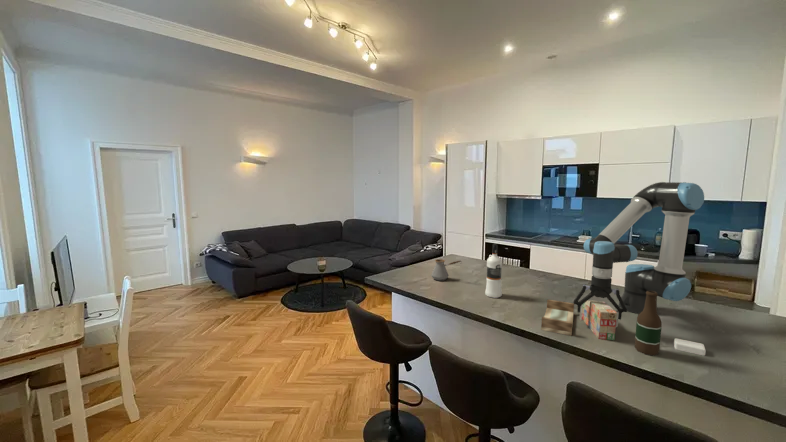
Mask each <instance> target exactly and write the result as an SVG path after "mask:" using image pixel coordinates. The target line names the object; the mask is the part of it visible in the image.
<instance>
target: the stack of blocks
mask: <svg viewBox="0 0 786 442" xmlns="http://www.w3.org/2000/svg"><path fill="white" fill-rule="evenodd" d="M582 305H583V308H582V320H583V322H584V323H585V324H586V325H587V327H588V328H589V329H590V330H591V331H592V333H593V334H594V335H595V337H596V338H597V339H598V340H607V341H608V340H609V341H610V340H611V341H615V338H616V328H617V327H616V319H617V313H616V310H614V308H613V307H611V306H610V305H609V304H608V303H606V302H605V301H597V300H587V301H586V302H585V303H584V304H582Z"/></svg>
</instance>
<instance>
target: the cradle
mask: <svg viewBox="0 0 786 442" xmlns="http://www.w3.org/2000/svg"><path fill="white" fill-rule="evenodd" d="M574 309H575V304H574V303H573V302H566V301H561V300H555V299H547V300H546V309H545V314H544V315H543V316H542V317H541V326H540V330H541V331H545V332H551V333H556V334H560V335H566V336H571V337H572V333H573V324H574V322H573V321H574V313H575V312H574V311H575V310H574Z"/></svg>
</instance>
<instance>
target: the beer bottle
mask: <svg viewBox="0 0 786 442" xmlns="http://www.w3.org/2000/svg"><path fill="white" fill-rule="evenodd" d="M658 297H659V296H658V293H657V292H654V291H646V300H645V306H644V309H643V311H642V312H641V313H640V314H639V313H638V315H637V318H636V325H635V337H634V348H635V350H636V351H637V352H639V353H641V354H644V355H648V356H653V355H654V356H656V355H658V354H659V353H660V346H661V336H662V327H663V325H662V323H663V322H662V319H661V317H660V315H659V314H658V310H657V309H658V307H657V306H658V305H657V304H658V303H657V302H658Z"/></svg>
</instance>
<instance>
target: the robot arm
mask: <svg viewBox="0 0 786 442" xmlns="http://www.w3.org/2000/svg"><path fill="white" fill-rule="evenodd" d="M704 202H705V193H704V190H703V188H702V187H701V186H700V185H698V184H697V183H694V182H685V181H684V182H678V181H677V182H673V181H672V182H671V181H670V182H664V181H661V182H655V183H652V184H649V185H648V186H646V187H644V188H643V189H641V190H640V191H639V192H637V193H636V194H635V195H634V196H633V197H632V198H631V199H630V203H629V204H628V205H627V206H626V207H625V208H624V209H623V210H622V211H621V212H619V214H618V215H617V216H616V217H615V218H613V220H612V221H611V222H610V223H609V224H608V225H606V227H605V228H604V229H602V231H601V232H599V234H598V235H597V236H596V237H595V238H591V237H590V238H588V239H587V238H586V240H585V241H584V243H583V250H584V251H585V253H587V254H590V255H592V266H591V278H590V279H591V280H590V281H591V282H590V285H586V284H585V283H584V284H583V285H582V288H581V290H580V291H579V293H578V294H577V295H576V297H575V298H574V299H573V302H572V303H574V305H576V306H577V313H578V314H579V321H580V322H581V321H582V320H583V319H582V308H583V305H582V304H584V303H585V302H586V301H590V299H592V298H593V297H596V298H602V299H607V300H608V301H609V302H610V303H611V304H612V306H613V307H614V308H615V312H616V313H617V319H616V328H618V325H619V324H618V323H619V320H620V321H621V320H622V317H623V316H622V315H623V314H622V313H627V312H630V313H635V314H638V315H639V314H640V313H641V312H642V311H643V309H644V306H645V300H646V291H654V292H657V293H658V296H657V297H659V298H663V299H664V300H669V301H672V302H680V301H682V300H684V299H685V298H687V296H688V295H689V293H690V291H691V288H692V283H691V280H690V279H688V278H687V277H686V273H687V272H686V271H685V270H684V269H683V265H684V259H685V250H686V245H687V244H686V243H687V238H688V232H689V231H688V230H689V223H690V217H692V216H693V215H695V213H696V211H697V210H699V209H700V208H701V207H702V205H704ZM658 207H661V212H662V213H663V214H664V215H665V216H664V221H663V228H662V237H661V243H660V244H661V245H660V251H659V258H658V265H656V266H654V265H652V264H644V263H635V264H634V263H633V264H628V265H627V266H626V268H625V271H624V272H625V274H624V289H623V293H622V295H621V294H620V289H619V288H616V289H614V288H612V282H613V281H612V280H613V279H612V277H613V269H614V268H613V267H614V263H616V264H617V263H630V262H633V261H635V260H636V259H637V257H638V253H639V252H638V250H637V248H636V247H635V246H634V245H632V244H621V243H617V242H618V241H619V239H621V237H623V235H625V234H626V232H627V231H628V230H630V229H631V227H632V226H633V225H635V223H636V222H638V221H639V220H640V219H641V218H642V217H643V216H644V215H645V214H646V213H649V212H651V211H652V210H653V209H655V208H658ZM588 290H590V292H589V293H588V294H587V295H585V296H584V297H583V298H582V299H581V297H582V296H583V295H584V294H585V292H586V291H588ZM612 293H613V294H614V295H615V296H616V298H617V301H618V303H617V302H616V301H615V299H614V298H613V297H612V296H611V294H612ZM580 299H581V300H580Z"/></svg>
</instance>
